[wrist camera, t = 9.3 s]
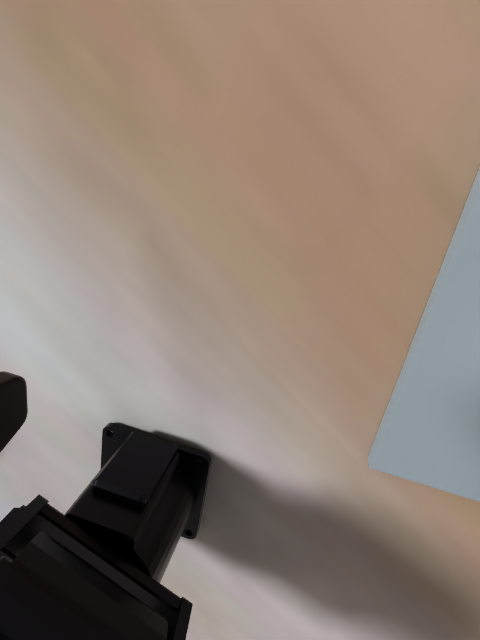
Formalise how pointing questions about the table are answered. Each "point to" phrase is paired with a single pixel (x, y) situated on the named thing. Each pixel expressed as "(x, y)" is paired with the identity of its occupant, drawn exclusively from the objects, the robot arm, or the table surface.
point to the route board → (441, 377)
